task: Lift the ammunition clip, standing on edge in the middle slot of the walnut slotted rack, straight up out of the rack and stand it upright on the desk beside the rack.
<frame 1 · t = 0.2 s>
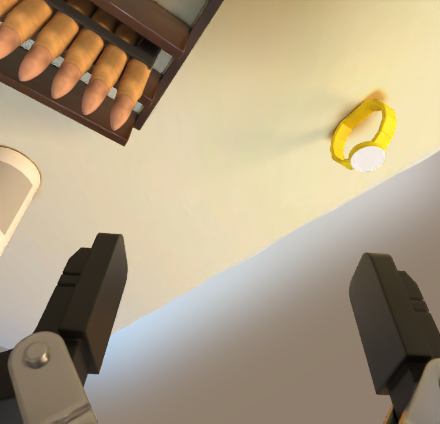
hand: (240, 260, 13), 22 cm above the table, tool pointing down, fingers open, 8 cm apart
ammunition clip: (98, 5, 28), resting in slotted rack
watch: (355, 115, 34), on the table
slotted rack: (98, 6, 28), on the table
spray bottle: (10, 167, 41), on the table
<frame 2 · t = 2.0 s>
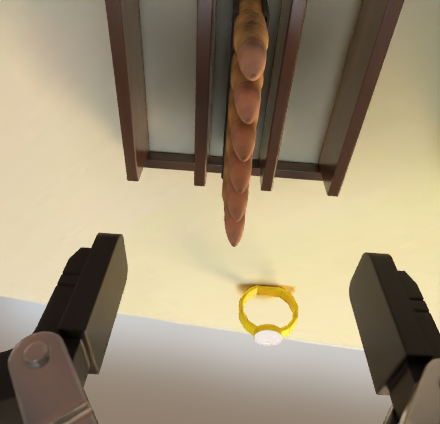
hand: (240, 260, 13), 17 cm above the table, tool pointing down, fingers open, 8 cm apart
ammunition clip: (241, 76, 26), resting in slotted rack
watch: (266, 287, 40), on the table
slotted rack: (241, 77, 26), on the table
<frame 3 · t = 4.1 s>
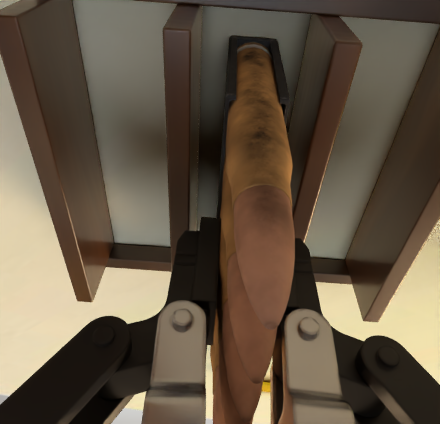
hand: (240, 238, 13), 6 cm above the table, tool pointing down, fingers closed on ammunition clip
ammunition clip: (240, 154, 18), resting in slotted rack, touching gripper
slotted rack: (240, 156, 18), on the table
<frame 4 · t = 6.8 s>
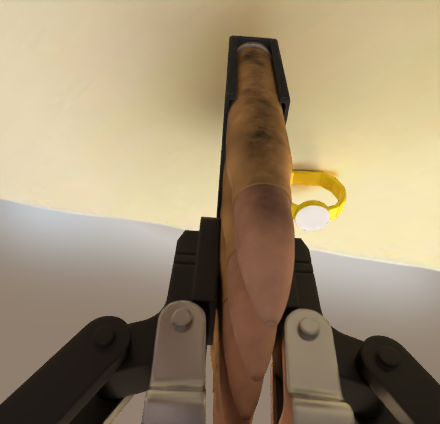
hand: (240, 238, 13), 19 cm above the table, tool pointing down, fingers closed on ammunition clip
ammunition clip: (240, 154, 18), point 13 cm above the table, touching gripper
watch: (304, 175, 34), on the table
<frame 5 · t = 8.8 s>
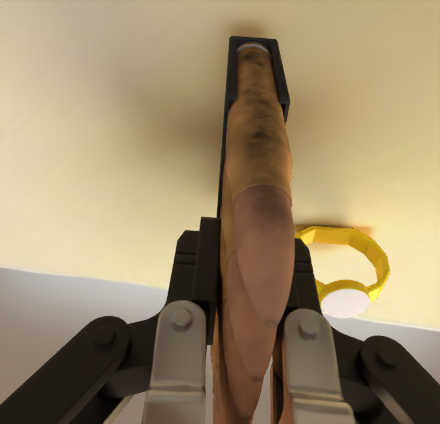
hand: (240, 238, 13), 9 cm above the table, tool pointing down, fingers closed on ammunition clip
ammunition clip: (240, 154, 18), point 3 cm above the table, touching gripper
watch: (328, 230, 26), on the table
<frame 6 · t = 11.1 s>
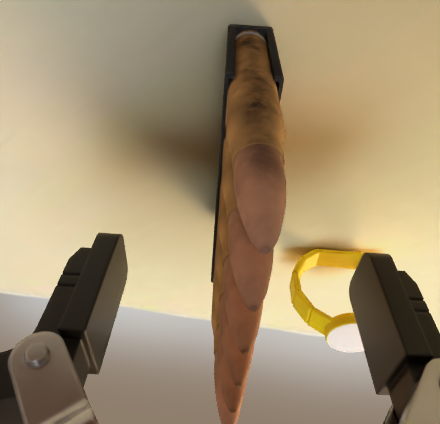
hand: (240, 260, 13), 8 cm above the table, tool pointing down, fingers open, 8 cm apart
ammunition clip: (238, 138, 19), on the table
watch: (333, 253, 24), on the table
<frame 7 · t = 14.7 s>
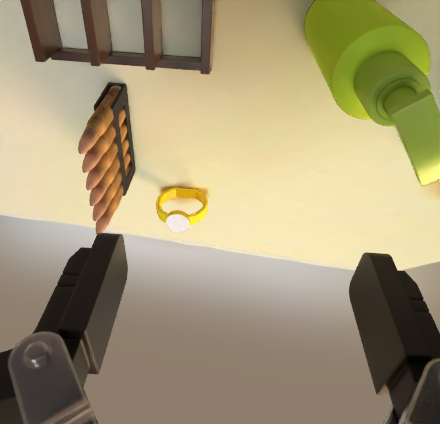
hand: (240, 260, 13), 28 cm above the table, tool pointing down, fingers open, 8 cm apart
ammunition clip: (123, 130, 41), on the table
soap dispenser: (339, 28, 34), on the table
watch: (185, 190, 46), on the table
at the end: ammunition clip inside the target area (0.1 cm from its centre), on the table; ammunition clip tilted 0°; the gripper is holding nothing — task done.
